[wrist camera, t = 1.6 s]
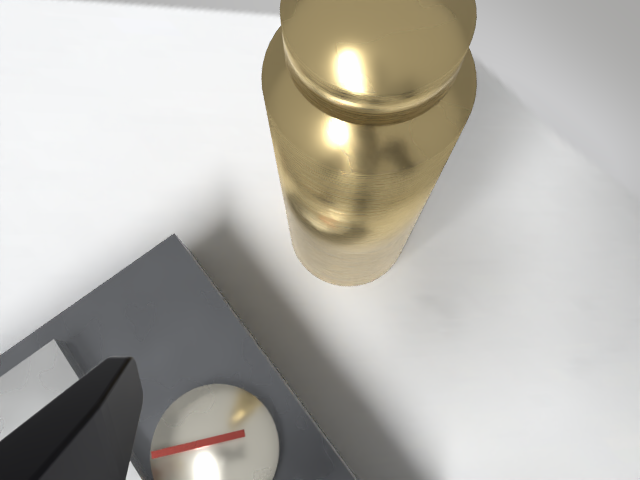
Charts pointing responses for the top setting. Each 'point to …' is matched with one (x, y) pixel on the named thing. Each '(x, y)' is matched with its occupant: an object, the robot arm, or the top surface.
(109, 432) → the robot arm
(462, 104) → the weight
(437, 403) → the top surface
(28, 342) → the scale
